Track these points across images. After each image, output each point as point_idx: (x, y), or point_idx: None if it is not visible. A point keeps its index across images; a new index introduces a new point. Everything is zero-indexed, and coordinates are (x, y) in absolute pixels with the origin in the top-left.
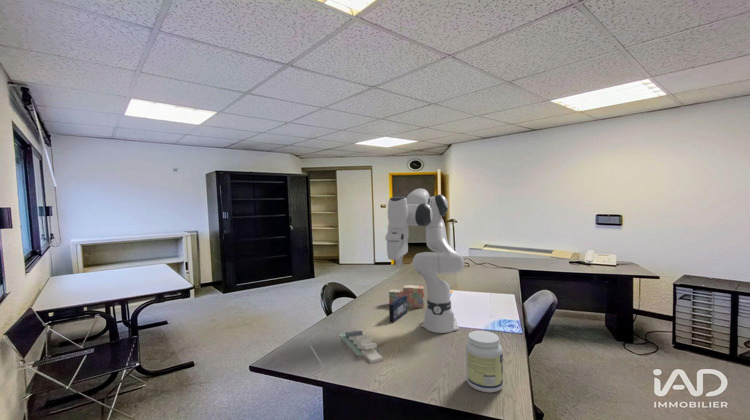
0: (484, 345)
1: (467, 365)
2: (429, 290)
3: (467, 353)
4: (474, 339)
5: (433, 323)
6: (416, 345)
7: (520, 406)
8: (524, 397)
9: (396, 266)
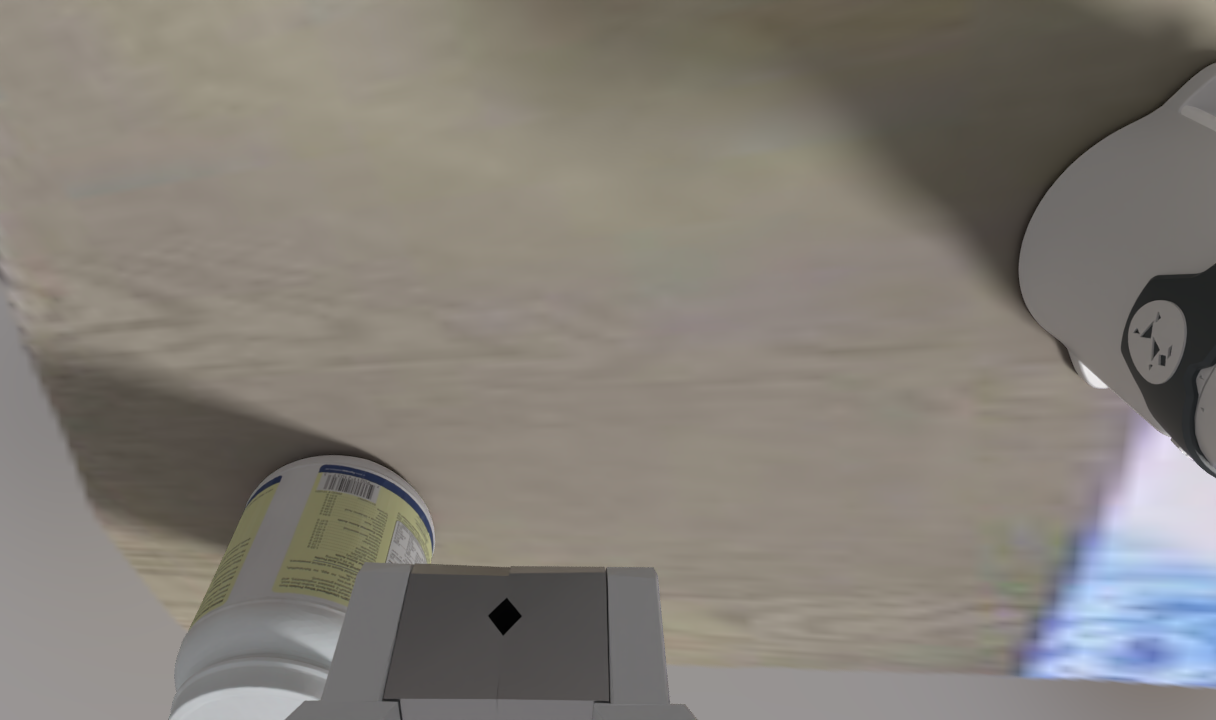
0: None
1: (261, 530)
2: None
3: (231, 591)
4: (184, 714)
5: (1095, 231)
6: (749, 89)
7: None
8: None
9: (362, 585)
